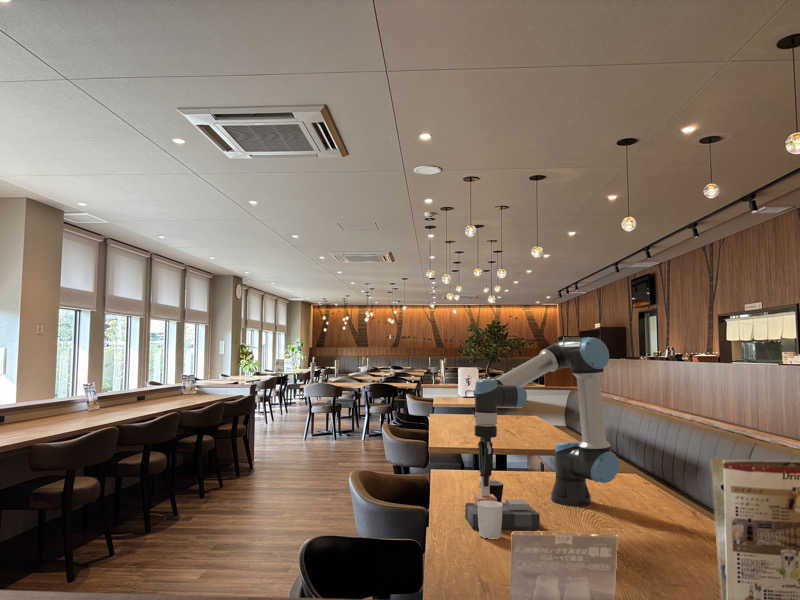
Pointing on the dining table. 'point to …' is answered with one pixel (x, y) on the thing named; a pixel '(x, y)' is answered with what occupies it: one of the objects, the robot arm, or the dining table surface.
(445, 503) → the dining table surface
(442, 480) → the dining table surface
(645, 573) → the dining table surface
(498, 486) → the coffee mug
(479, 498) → the salmon orange cube
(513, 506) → the light grey cube
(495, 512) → the white cup
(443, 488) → the dining table surface
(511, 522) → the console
